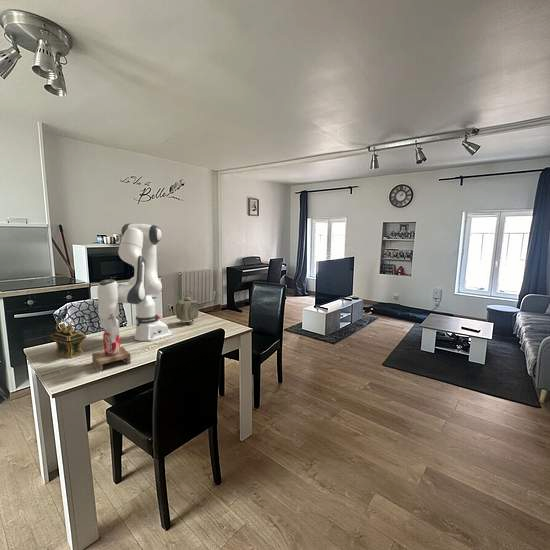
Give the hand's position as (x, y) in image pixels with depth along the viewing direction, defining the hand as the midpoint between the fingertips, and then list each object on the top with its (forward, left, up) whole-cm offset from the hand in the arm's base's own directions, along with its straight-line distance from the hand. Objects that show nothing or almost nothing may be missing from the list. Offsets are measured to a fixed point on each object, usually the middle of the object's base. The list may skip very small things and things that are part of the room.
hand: (110, 339), depth 143 cm
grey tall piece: (-60, -36, -13) cm, 71 cm away
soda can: (-1, 0, -8) cm, 8 cm away
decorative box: (+14, -29, -13) cm, 35 cm away
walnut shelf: (0, 0, -13) cm, 13 cm away
